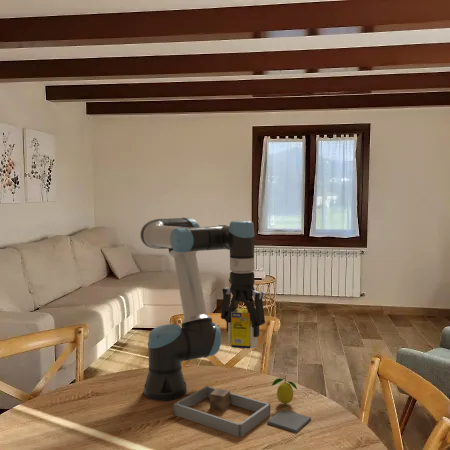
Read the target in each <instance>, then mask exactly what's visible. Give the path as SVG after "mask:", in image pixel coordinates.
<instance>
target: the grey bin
mask: <svg viewBox="0 0 450 450" xmlns="http://www.w3.org/2000/svg"><path fill="white" fill-rule="evenodd" d="M215 389H216V387H212V386H207V385H205V386H204V387H203V388H200V389H199V390H197V391H195V392H193V393H191V394H189V395H187V396H186V397H183V398H182V399H180V400H178V401H177V402H175V403H173V416H176V417H180V418H181V419H182V418H183V419H185V420H188V421H191V422H194V423H197V424H199V425H203V426H206V427H209V428H212V429H215V430H217V431H220V432H224V433H227V434H229V435H232V436H235V437H237V438H241V437H243V436H244V435H246V434H247V433H248V432H250V431H251V430H252V429H253V428H255V427H256V426H257V425H259V424H260V423H262V422H263V421H264V420H266V419H267V418H268V417H269V416H271V403H268V402H266V401H262V400H258V399H254V398H251V397H247V396H243V395H241V394H237V393H233V392H230V405H233V406H235V407H239V408H242V409H245V410H249V411H251V412H253V413H252V414H251V415H249V416H248V417H247V418H245V419H244V420H243V421H240V423H239V422H235V421H233V420H230V419H225V418H223V417H219V416H217V415H214V414H211V413H207V412H205V411H201V410H198V409H195V408H192V407H193V406H195V405H197V404H199V403H200V402H201V401H203V400H205V399H207V398H209V399H210V394H211V393H212V392H213V391H214V390H215Z"/></svg>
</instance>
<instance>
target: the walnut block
mask: <svg viewBox="0 0 450 450" xmlns="http://www.w3.org/2000/svg"><path fill="white" fill-rule="evenodd" d="M215 388H216V387H215ZM230 393H231V391H230V390H227V389H221V388H216V389H215V390H214V391H213V392H212V393H211V394H210V398H209V409H210V410H211V409H212V410H216V411H217V410H218V411H220V412H221V411H223V412H224V411H226V409H228V408H229V407H230V406H231V404H230Z"/></svg>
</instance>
